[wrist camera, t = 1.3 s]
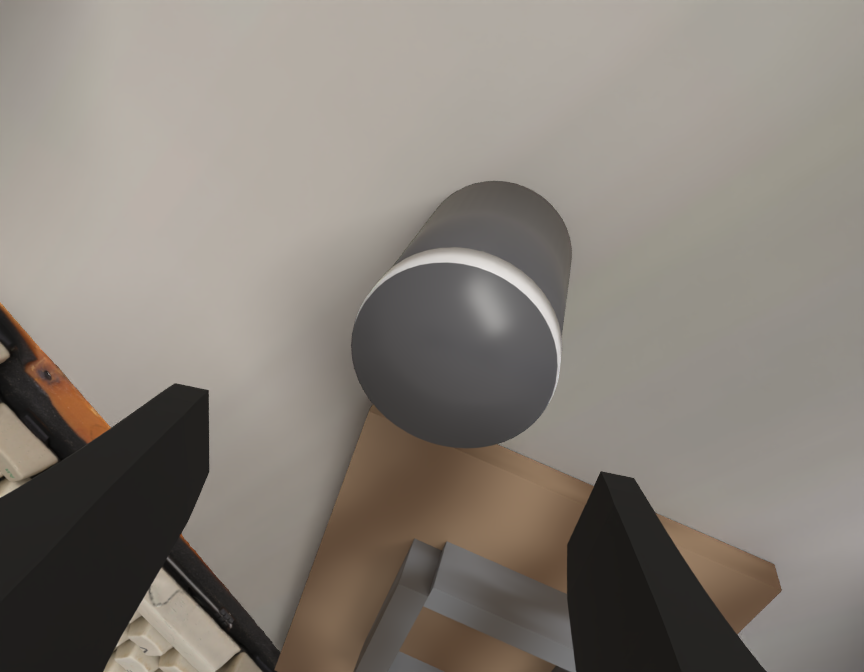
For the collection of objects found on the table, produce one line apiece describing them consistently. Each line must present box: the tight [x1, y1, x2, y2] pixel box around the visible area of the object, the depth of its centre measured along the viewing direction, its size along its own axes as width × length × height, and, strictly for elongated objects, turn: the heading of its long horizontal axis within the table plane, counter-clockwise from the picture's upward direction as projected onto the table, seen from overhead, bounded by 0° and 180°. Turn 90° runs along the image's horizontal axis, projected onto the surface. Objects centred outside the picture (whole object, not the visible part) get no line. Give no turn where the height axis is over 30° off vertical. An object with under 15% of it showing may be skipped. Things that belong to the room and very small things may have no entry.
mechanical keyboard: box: [0, 303, 280, 672], centre depth 34 cm, size 38×19×3 cm, turn 33°
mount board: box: [275, 404, 782, 672], centre depth 27 cm, size 16×18×4 cm
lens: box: [351, 181, 572, 448], centre depth 18 cm, size 5×5×7 cm
